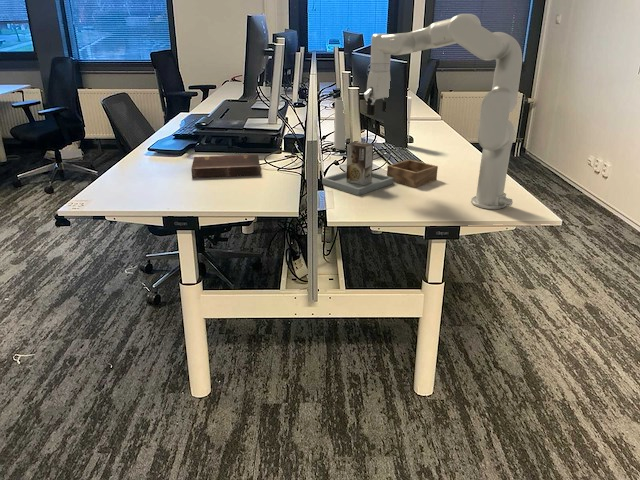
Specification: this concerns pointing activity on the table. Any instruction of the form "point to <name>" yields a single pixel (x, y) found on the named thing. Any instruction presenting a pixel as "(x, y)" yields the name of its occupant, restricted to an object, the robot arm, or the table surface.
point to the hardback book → (225, 166)
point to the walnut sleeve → (412, 173)
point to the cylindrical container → (409, 113)
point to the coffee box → (359, 162)
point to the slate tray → (357, 189)
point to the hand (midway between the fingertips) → (378, 113)
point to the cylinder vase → (339, 125)
